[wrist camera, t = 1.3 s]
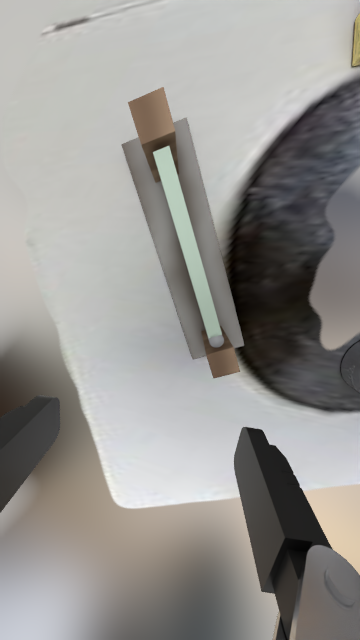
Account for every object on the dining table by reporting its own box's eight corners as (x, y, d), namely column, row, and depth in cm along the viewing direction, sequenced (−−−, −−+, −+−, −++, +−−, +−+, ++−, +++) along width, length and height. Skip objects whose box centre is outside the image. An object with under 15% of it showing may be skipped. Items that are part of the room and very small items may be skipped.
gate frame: (186, 123, 24) (186, 40, 15) (242, 342, 31) (264, 373, 22) (124, 149, 24) (89, 85, 16) (192, 356, 31) (194, 391, 23)
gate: (216, 326, 28) (225, 345, 22) (205, 329, 29) (211, 349, 22) (174, 178, 24) (169, 145, 17) (161, 183, 24) (152, 152, 17)
